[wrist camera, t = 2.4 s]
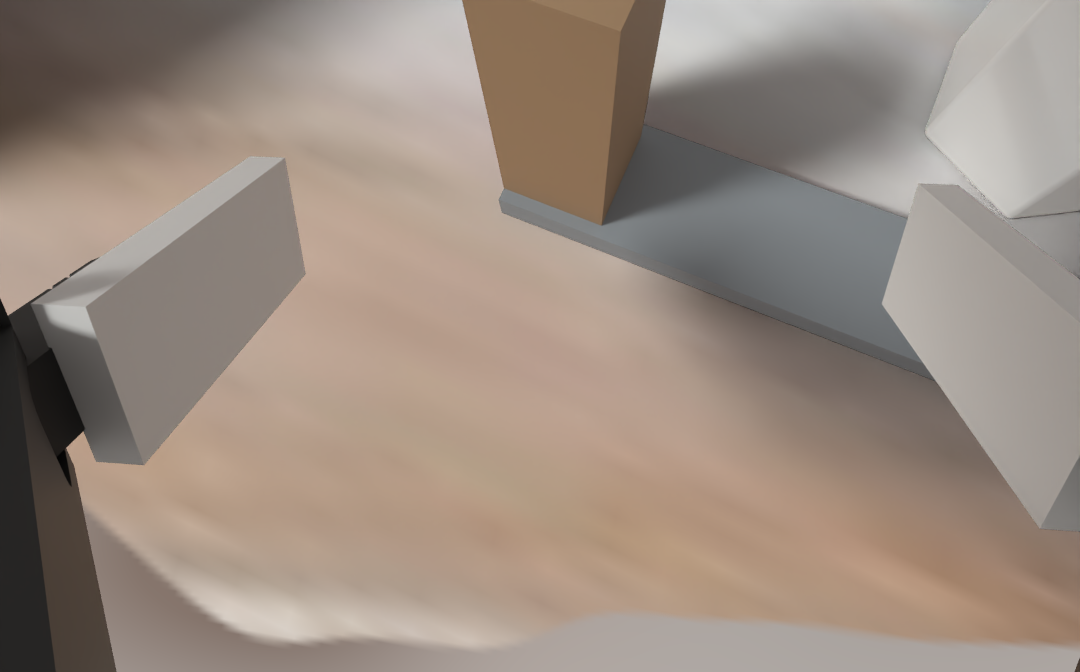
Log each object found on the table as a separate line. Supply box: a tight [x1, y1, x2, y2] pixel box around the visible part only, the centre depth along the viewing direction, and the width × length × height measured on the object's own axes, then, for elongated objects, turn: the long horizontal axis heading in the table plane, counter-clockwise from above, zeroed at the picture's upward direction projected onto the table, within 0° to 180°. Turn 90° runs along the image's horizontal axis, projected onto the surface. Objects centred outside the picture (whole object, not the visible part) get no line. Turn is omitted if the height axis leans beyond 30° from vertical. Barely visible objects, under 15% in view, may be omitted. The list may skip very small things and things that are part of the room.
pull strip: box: [462, 0, 935, 381], centre depth 22 cm, size 26×18×12 cm
